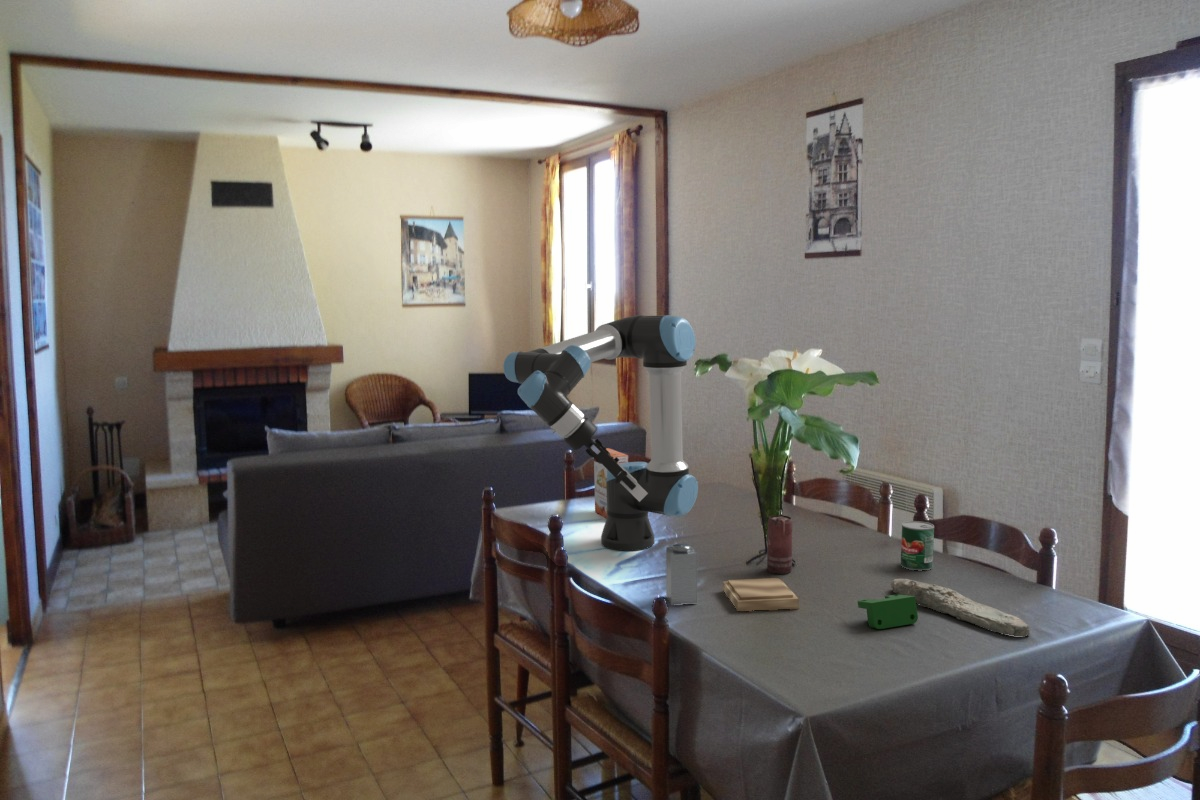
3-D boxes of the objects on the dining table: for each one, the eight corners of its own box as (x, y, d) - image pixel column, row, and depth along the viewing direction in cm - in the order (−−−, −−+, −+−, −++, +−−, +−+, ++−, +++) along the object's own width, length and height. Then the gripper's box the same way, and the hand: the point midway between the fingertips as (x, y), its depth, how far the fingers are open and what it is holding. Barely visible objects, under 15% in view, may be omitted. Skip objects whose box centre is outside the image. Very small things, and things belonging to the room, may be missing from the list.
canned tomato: (897, 568, 230) (899, 526, 229) (903, 560, 237) (904, 519, 236) (930, 572, 226) (932, 530, 225) (934, 564, 233) (936, 523, 232)
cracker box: (593, 512, 290) (592, 449, 288) (610, 510, 293) (609, 447, 290) (612, 522, 278) (611, 456, 275) (629, 520, 280) (629, 454, 278)
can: (774, 575, 225) (775, 521, 223) (763, 568, 231) (763, 515, 229) (796, 573, 227) (797, 519, 225) (784, 566, 233) (785, 513, 231)
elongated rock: (1009, 650, 182) (1039, 642, 187) (1012, 625, 181) (1043, 618, 186) (878, 591, 212) (907, 586, 217) (880, 570, 211) (910, 565, 216)
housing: (666, 596, 211) (666, 543, 209) (691, 595, 211) (691, 542, 210) (671, 605, 205) (671, 550, 203) (696, 604, 205) (697, 549, 204)
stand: (722, 591, 214) (722, 579, 214) (779, 588, 216) (780, 576, 215) (737, 612, 200) (737, 599, 200) (798, 609, 202) (798, 596, 201)
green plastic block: (895, 637, 196) (903, 596, 199) (913, 640, 191) (921, 598, 193) (850, 622, 193) (859, 581, 195) (866, 624, 188) (876, 582, 190)
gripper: (557, 431, 217) (618, 491, 220) (567, 448, 192) (636, 515, 196) (579, 409, 217) (640, 469, 221) (592, 423, 192) (660, 490, 196)
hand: (638, 491), depth 208 cm, fingers open, 13 cm apart
